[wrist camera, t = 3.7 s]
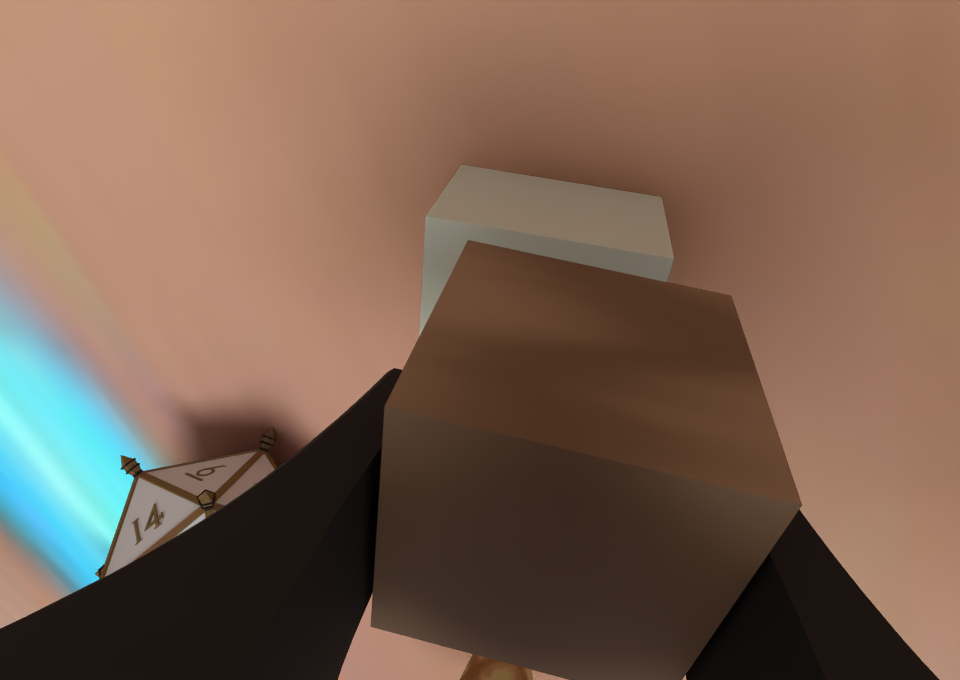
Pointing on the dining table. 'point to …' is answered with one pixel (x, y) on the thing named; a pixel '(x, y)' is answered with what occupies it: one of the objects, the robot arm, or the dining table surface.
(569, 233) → the base block
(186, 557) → the robot arm
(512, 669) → the ice cream cone
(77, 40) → the dining table surface
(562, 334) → the walnut cube
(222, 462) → the game die
